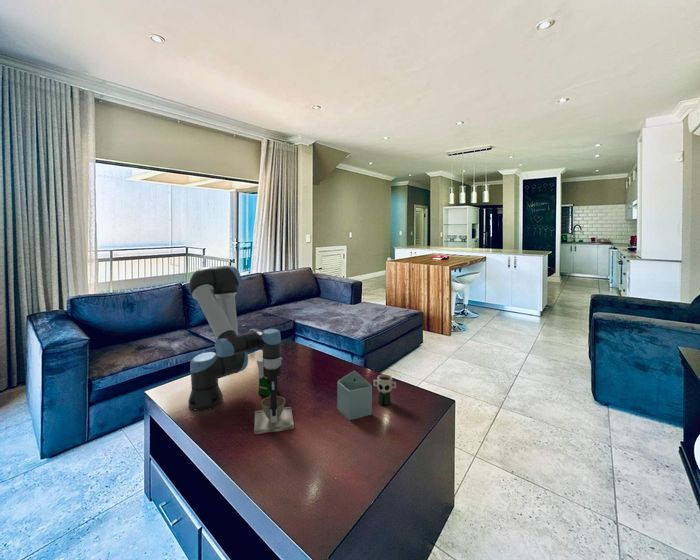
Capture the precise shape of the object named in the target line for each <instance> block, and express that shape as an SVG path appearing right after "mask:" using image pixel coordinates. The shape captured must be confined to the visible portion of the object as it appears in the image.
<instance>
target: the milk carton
mask: <svg viewBox="0 0 700 560" xmlns="http://www.w3.org/2000/svg"><path fill="white" fill-rule="evenodd" d="M256 365H257V369H258V395H261V396H266V397H270V391H269V385H268V378H266V377H264V375H263V356H262V357H260V358H259V359H257V360H256ZM278 384H279V383H278ZM278 384H277V392H278V391H279V385H278Z"/></svg>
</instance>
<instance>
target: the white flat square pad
mask: <svg viewBox="0 0 700 560" xmlns="http://www.w3.org/2000/svg"><path fill="white" fill-rule="evenodd" d="M253 429H254V430H253V434H254V435H260V434H266V433H273V432H281V431H288V430H294V429H295V424H294V418H293V411H292V406H284V409H283V411H282V413H281V415H280V417H279V418H278V419H277V422H273V423H271V420H270V419H268V418H267V417H266V415H265V413H264V411H263V409H260V410H255V411H254V428H253Z"/></svg>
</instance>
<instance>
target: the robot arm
mask: <svg viewBox="0 0 700 560" xmlns="http://www.w3.org/2000/svg"><path fill="white" fill-rule="evenodd" d="M242 281H243V280H242V276H241V273H240V271H239V270H238V268H237V267H235V266H234V265H224V266H222V265H221V266H220V265H219V266H210V267H208V266H206V267H201V268H199V269H198V270H196V271H195V272H194V273H192V276H191V277H190V279H189V285H188V287H189V292H190V295H191V297H192V298H193V299H194V300H196V301H197V303H198V305H199V306H200V309H201V310H202V313H203V314H204V316H205V319H206V320H207V322H208V324H209V326H210V328H211V330H212V331H213V334H214V336H215V337H216V339H217V340H216V341H215V344H214V349H215V352H214V351H209V352H207V351H206V352H202V353H199V354H197V355H195V356H194V357H193V358H192V359H191V360H190V363H189V364H190V367H189V371H190V381H191V391H190V394H189V397H188V398H189V399H188V401H187V402H188V403H187V404H188V408H189V407H190V408H192V409H196V410H202V411H205V410H204V409H208V410H210V409H209V408H212V409H214V408H216V407H218V406H220V405H221V404H223V401H224V395H223V393H222V390H221V388H220V385H219V379H221V378H224V377H227V376H232V375H234V374H238V373H241V372H242V371H243V372H244V370H245V369H246V368H247V366H248V364H249V353H248V351H252V350H256V349H259V350H260V351H262V357H263V375H264V377H266V378H268V385H269V391H270V401H271V407H269V409H270V414H271V423H273V422H277V396H278V395H277V394H278V391H277V384H279V383H278V378H279V377H280V376H281V375H282V366H281V365H282V360H283V357H282V337H281V332H280V330H279V329H275V328H268V329H265V330H261V329H258V328H250V329H249V330H248V331H246V332H244V333H240V334H239V330H238V317H237V309H236V308H237V307H236V305H237V304H236V294H238V289H239V288H241V286H242ZM219 404H220V405H219ZM213 407H214V408H213ZM190 408H189V409H190ZM192 409H191V410H192ZM196 410H195V411H196Z"/></svg>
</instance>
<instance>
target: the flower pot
mask: <svg viewBox="0 0 700 560" xmlns="http://www.w3.org/2000/svg"><path fill="white" fill-rule="evenodd" d="M285 404H286V399H285V397H282V396H279V395H277V419H278V418H279V417H280V415H281V413H282V411H283V409H284V407H285ZM261 407H262V409H261V410H263V411H264V413H265V415H266V417H267V418H268V419H270V420H271V414H270V409H269V407H271V401H270V397H269V396H266V397H265V398H263V399H262V401H261Z"/></svg>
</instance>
